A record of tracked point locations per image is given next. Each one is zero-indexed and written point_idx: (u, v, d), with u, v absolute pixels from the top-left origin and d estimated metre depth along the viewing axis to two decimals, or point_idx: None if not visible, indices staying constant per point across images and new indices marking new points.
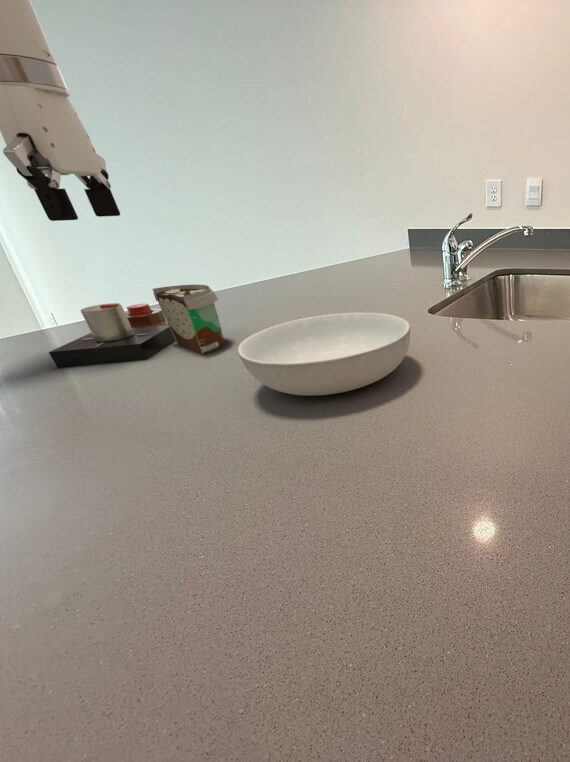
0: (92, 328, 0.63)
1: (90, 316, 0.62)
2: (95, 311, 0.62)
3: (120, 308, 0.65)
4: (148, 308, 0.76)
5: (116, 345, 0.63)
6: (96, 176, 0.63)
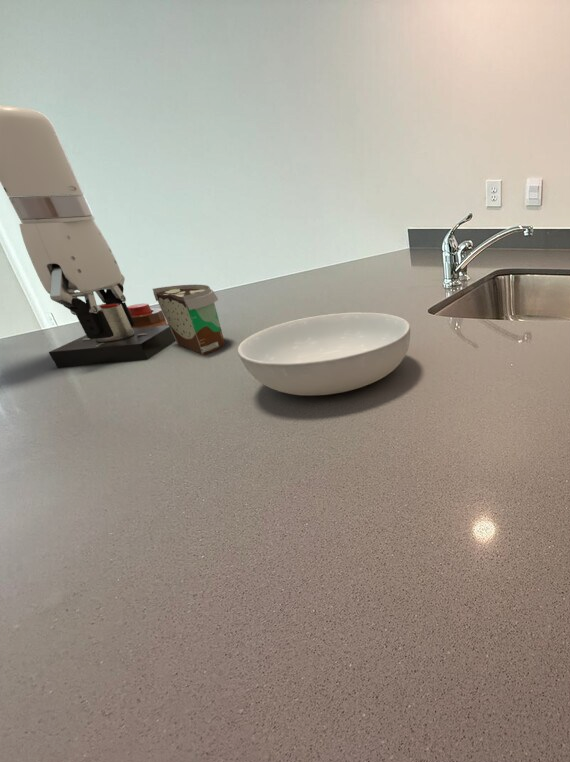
0: None
1: None
2: None
3: (120, 308, 0.65)
4: (148, 308, 0.76)
5: (116, 345, 0.63)
6: (113, 289, 0.66)
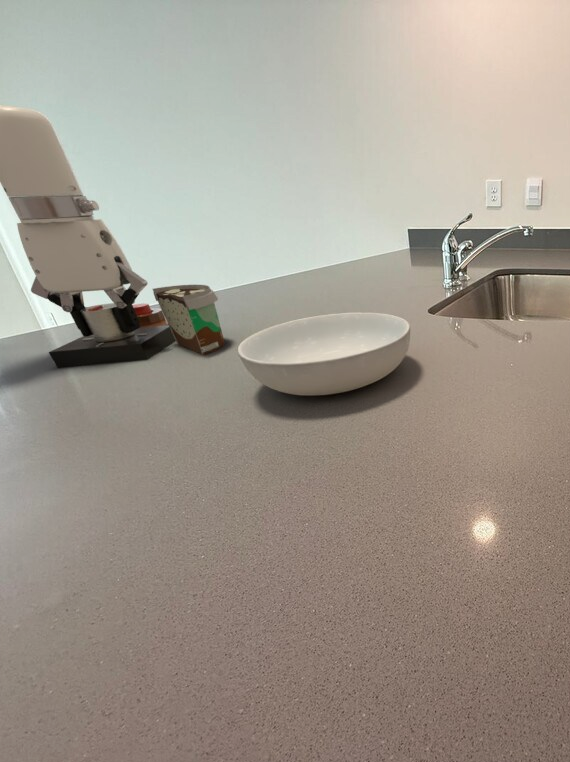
0: None
1: None
2: None
3: (93, 314, 0.62)
4: (148, 308, 0.76)
5: (116, 345, 0.63)
6: (107, 294, 0.63)
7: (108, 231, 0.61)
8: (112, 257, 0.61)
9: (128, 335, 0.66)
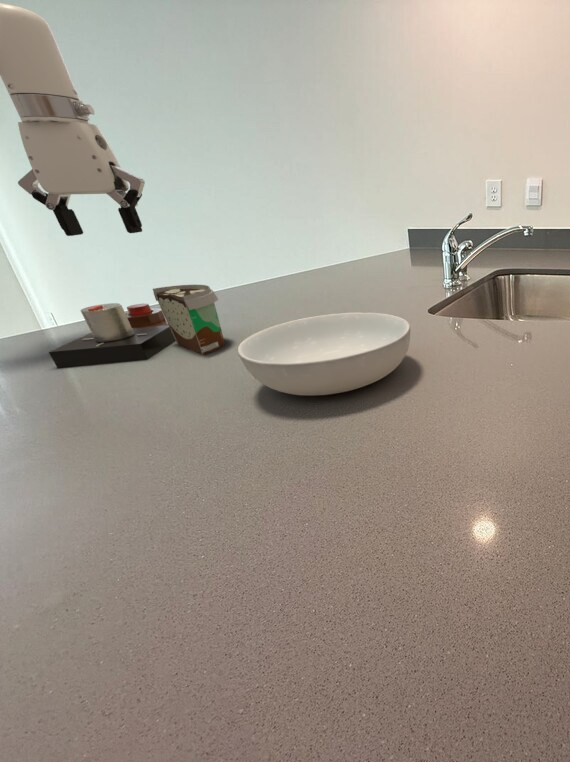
0: None
1: None
2: None
3: (93, 314, 0.62)
4: (148, 308, 0.76)
5: (116, 345, 0.63)
6: (109, 195, 0.67)
7: (103, 137, 0.65)
8: (107, 161, 0.65)
9: (128, 335, 0.66)
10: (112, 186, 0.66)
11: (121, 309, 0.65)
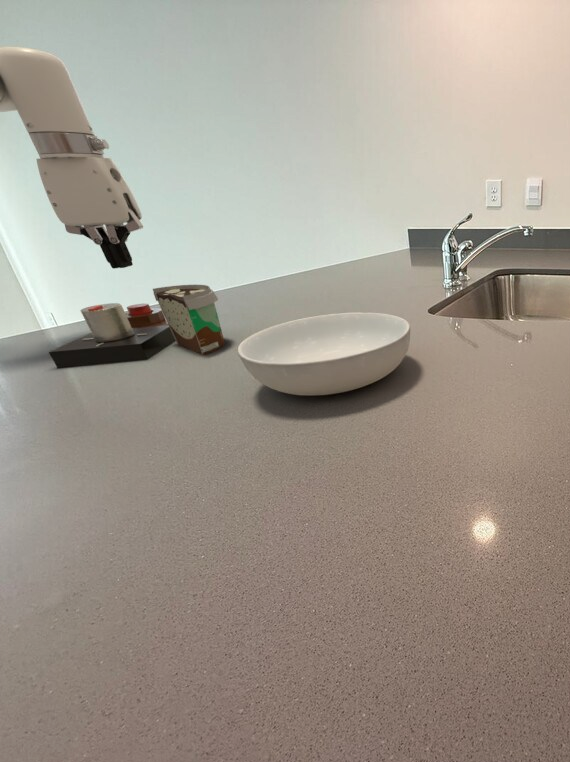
0: None
1: None
2: None
3: (93, 314, 0.62)
4: (148, 308, 0.76)
5: (116, 345, 0.63)
6: (106, 228, 0.69)
7: (117, 170, 0.68)
8: (121, 193, 0.67)
9: (128, 335, 0.66)
10: (126, 217, 0.68)
11: (121, 309, 0.65)
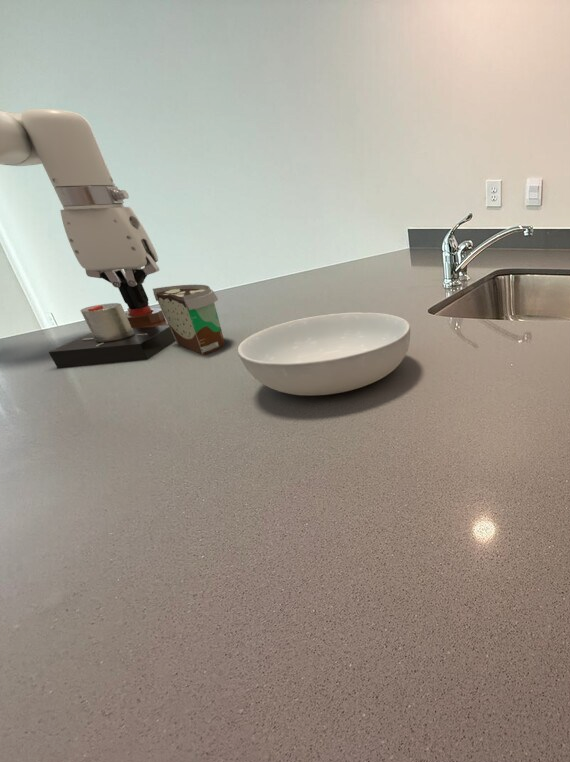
0: None
1: None
2: None
3: (93, 314, 0.62)
4: (149, 310, 0.76)
5: (116, 345, 0.63)
6: (125, 271, 0.72)
7: (136, 217, 0.71)
8: (139, 239, 0.71)
9: (128, 335, 0.66)
10: (144, 261, 0.72)
11: (121, 309, 0.65)
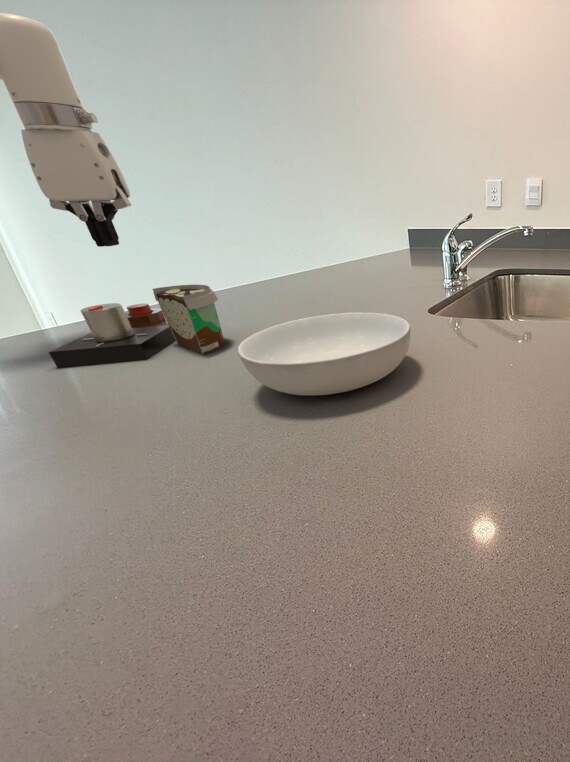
0: None
1: None
2: None
3: (93, 314, 0.62)
4: (148, 308, 0.76)
5: (116, 345, 0.63)
6: (92, 204, 0.67)
7: (106, 145, 0.66)
8: (109, 169, 0.66)
9: (128, 335, 0.66)
10: (114, 193, 0.67)
11: (121, 309, 0.65)
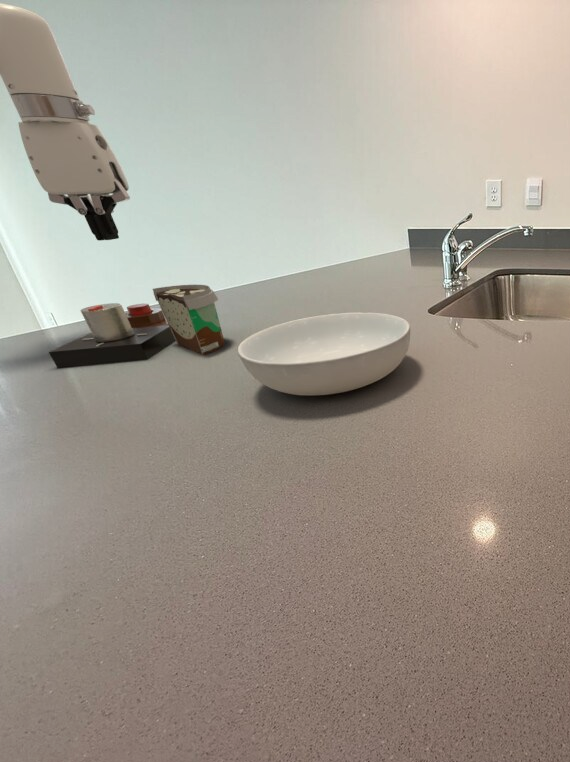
0: None
1: None
2: None
3: (93, 314, 0.62)
4: (148, 308, 0.76)
5: (116, 345, 0.63)
6: (91, 197, 0.67)
7: (103, 137, 0.66)
8: (107, 161, 0.65)
9: (128, 335, 0.66)
10: (112, 186, 0.66)
11: (121, 309, 0.65)
